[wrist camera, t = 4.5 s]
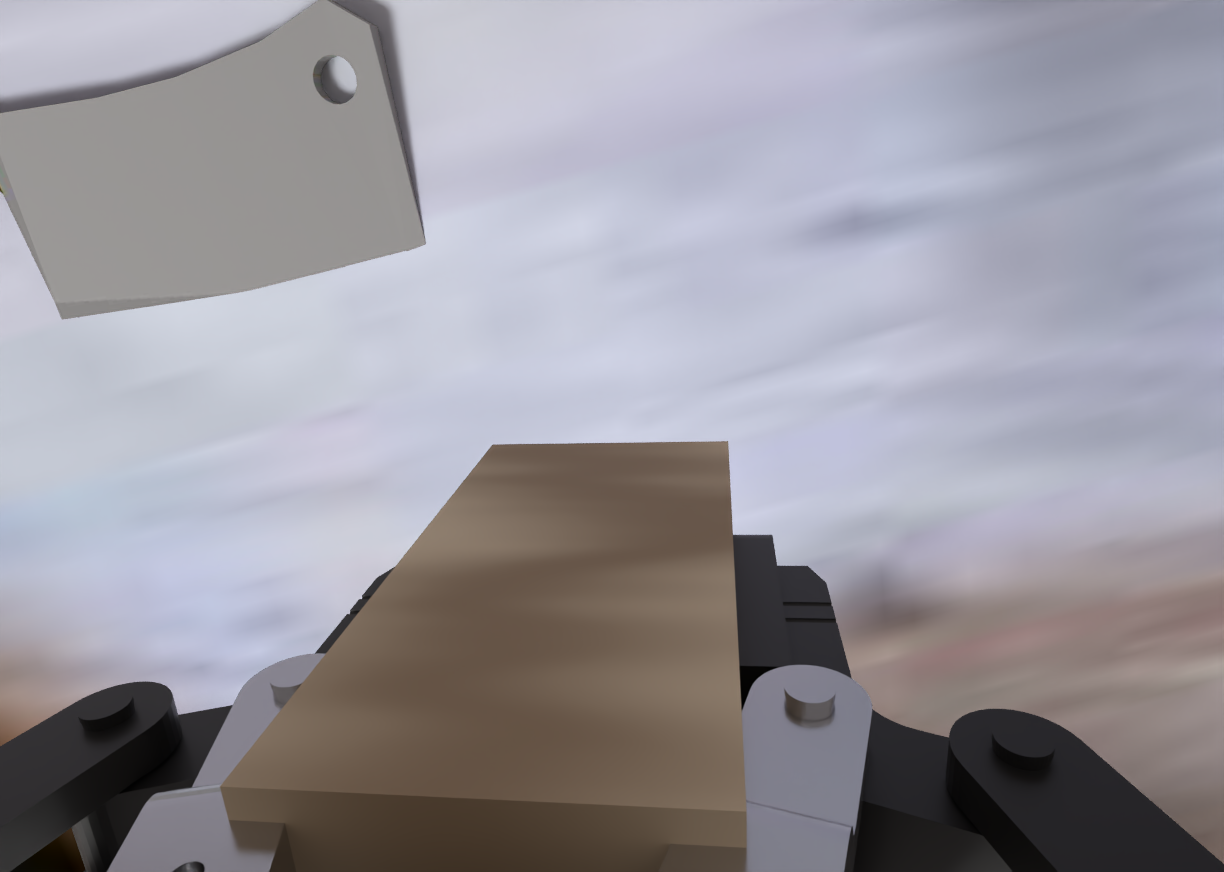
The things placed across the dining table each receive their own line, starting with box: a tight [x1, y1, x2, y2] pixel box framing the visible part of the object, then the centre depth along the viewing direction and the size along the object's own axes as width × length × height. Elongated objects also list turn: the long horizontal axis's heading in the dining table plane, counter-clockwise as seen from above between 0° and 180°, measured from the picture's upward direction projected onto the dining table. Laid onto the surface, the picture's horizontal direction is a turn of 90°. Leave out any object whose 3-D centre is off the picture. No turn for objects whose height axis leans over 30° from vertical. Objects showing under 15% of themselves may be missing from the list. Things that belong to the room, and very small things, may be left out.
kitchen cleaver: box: [0, 0, 426, 319], centre depth 28 cm, size 24×1×10 cm
